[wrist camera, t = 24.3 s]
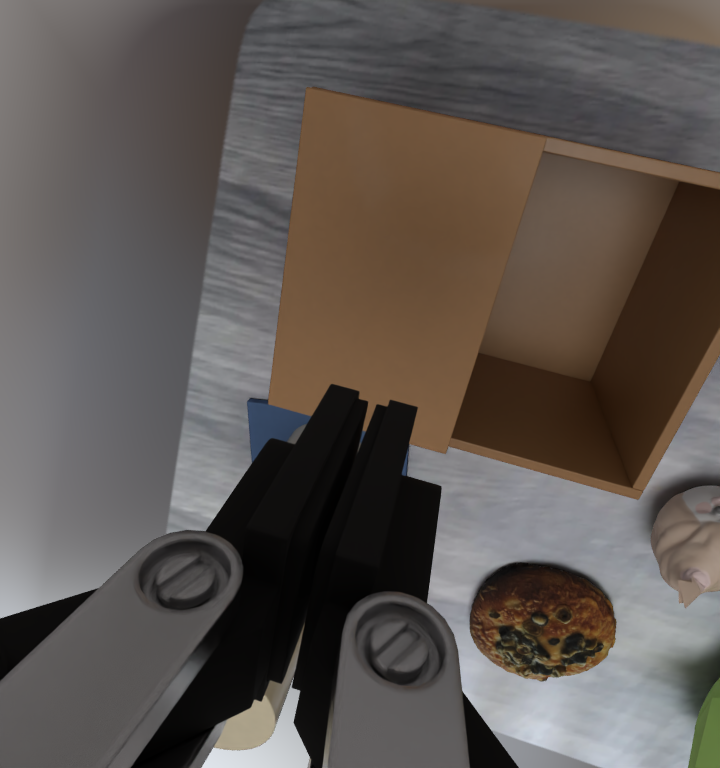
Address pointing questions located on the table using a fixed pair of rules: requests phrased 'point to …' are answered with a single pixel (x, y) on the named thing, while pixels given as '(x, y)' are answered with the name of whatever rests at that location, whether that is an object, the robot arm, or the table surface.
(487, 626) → the bread roll
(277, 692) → the beige cylinder rod
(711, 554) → the garlic bulb
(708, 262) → the carton
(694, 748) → the teapot
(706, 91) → the table surface
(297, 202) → the flap
